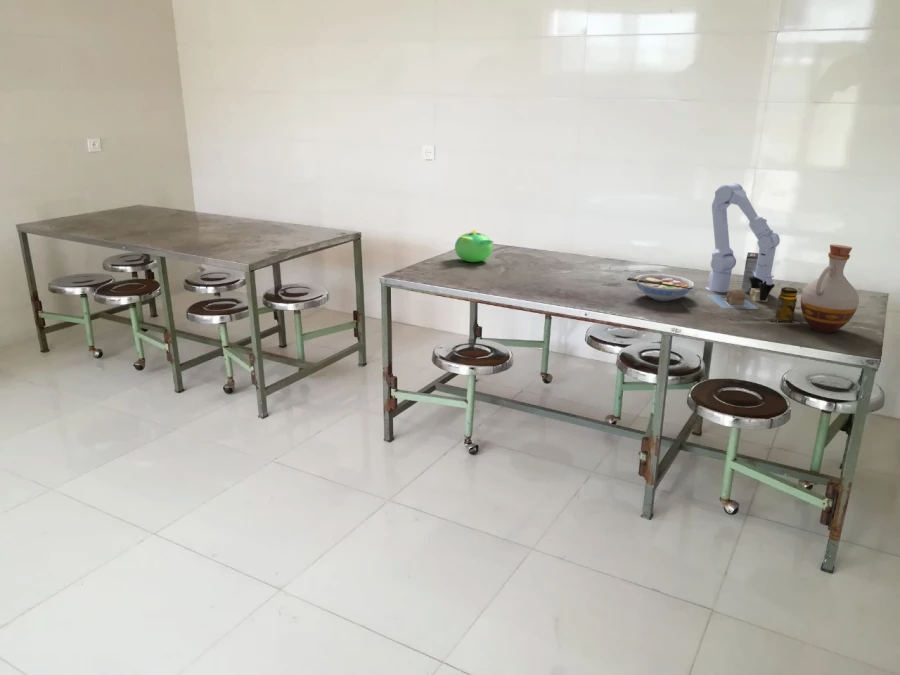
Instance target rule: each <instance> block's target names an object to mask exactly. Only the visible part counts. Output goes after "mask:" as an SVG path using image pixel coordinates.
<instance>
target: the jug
mask: <svg viewBox="0 0 900 675" xmlns="http://www.w3.org/2000/svg"><path fill="white" fill-rule="evenodd" d="M852 249H853V246H852V247H851V246H848V245H842V244H830V245H829V252H828V257H829V258H828V260H829V261H828V266H826V267H825V268H824V269H823V270H822V272H821V274H820V275H819V277H818V278H817V279H814V280H813V281H811V282H810V283H808V284H807V285H806V286H805V287H804V288H803V289H802V291H801V293H800V294H801V295H800V309H801V314H802V316H803V319H804V320H805V321H806V323H807V324H808V326H809V327H810V329H811V330H814V331H816V332H820V333H825V332H826V333H827V334H831V332H833V333H835V332H837V331H839V330H840V329H841V328H842V327H844V326H845V325H846V324H848V323H849V322H851V321H850V320H851V319H852V318H853V316H854V314H856V311H857V310H858V306H859V304H860V296H859V293H858V291H857V290H856V288H855V287H854V286H853V285H852V284H851V283H850V281H849V280H848V279H847V277H846V276H845V275H844V270H845V266H846V264H847V261H848V260H849V259H850V257H851V255H850V254H851V252H852Z"/></svg>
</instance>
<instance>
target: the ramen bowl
mask: <svg viewBox="0 0 900 675" xmlns="http://www.w3.org/2000/svg"><path fill="white" fill-rule="evenodd" d="M626 280H627V281H631V282H635V284H636V286H637V287H638V289H639V291H640V292H641V293H643V295H645V296H647V297H649V298H651V299H653V300H655V301H658V302H659V301H660V302H669V301H670V302H671V301H673V300H677V299H680V298H683V297H684V296H686V295H687V294H688V293H690V291H691V290H693V289H694V285H695V284H694V282H693V281H692V280H690V279H688V278H685V277H682V276H677V275H673V274H672V275H671V274H661V273H649V274H648V273H647V274H641V275H640V274H639V275H637V276H635V278H633V277H628V278H627V279H626Z"/></svg>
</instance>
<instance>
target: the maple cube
mask: <svg viewBox="0 0 900 675" xmlns="http://www.w3.org/2000/svg"><path fill="white" fill-rule="evenodd" d="M749 299H750V300H752V301H754V302H761V301H760V288H751V292H750V293H749ZM768 299H769V296H768V297H767V299H766V301H764V302H766V303H768Z"/></svg>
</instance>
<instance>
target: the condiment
mask: <svg viewBox="0 0 900 675" xmlns="http://www.w3.org/2000/svg"><path fill="white" fill-rule="evenodd" d="M797 294H798V290H797V288H794V287H786V286H785V287H782V288H781V290H780V294H779V295H778V298H777V305H776V309H775V313H774V317H775V318H776V319H778V320H771V319H770V322H771V323H780V324H781V323H782V324H792V323H794V324H793V325H795V324H796V322H795V321H794V322H792V321H793V319H794V316H795V310H796V305H797V300H798V297H797ZM777 321H778V322H777Z"/></svg>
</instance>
